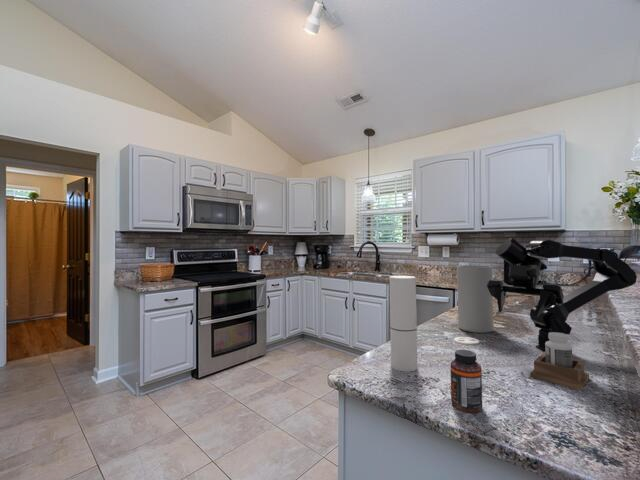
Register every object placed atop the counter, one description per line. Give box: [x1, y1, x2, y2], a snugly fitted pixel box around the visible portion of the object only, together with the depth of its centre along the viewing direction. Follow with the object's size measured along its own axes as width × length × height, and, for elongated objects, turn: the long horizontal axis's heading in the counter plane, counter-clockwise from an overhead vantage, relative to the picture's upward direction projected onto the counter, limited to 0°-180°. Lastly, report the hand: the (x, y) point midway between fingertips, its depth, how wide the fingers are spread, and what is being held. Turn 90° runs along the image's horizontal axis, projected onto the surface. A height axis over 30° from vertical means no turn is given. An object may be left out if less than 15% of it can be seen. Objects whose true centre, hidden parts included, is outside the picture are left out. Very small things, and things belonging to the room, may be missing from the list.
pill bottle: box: [544, 332, 573, 369], centre depth 77 cm, size 5×5×10 cm
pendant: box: [453, 336, 486, 346], centre depth 106 cm, size 7×11×1 cm, turn 94°
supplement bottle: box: [450, 349, 483, 414], centre depth 64 cm, size 6×6×11 cm
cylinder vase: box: [456, 264, 495, 334], centre depth 121 cm, size 12×12×25 cm
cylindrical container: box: [388, 275, 418, 372], centre depth 85 cm, size 7×7×25 cm
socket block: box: [529, 352, 590, 391], centre depth 77 cm, size 10×10×4 cm
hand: (517, 313), depth 88 cm, fingers open, 9 cm apart
